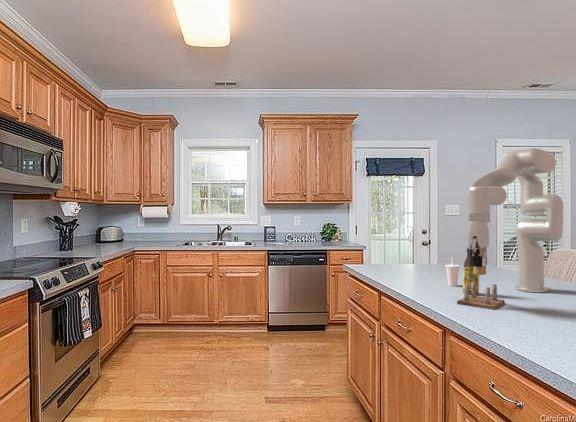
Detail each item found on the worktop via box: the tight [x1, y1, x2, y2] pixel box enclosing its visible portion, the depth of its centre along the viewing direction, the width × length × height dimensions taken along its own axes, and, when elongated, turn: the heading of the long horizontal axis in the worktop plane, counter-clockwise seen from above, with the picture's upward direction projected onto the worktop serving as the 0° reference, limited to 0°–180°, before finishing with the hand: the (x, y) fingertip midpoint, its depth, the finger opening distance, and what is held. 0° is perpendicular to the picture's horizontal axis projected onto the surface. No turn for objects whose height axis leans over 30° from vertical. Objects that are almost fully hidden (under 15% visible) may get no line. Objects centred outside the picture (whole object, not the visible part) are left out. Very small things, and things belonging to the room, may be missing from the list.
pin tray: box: [456, 282, 506, 311], centre depth 147 cm, size 13×13×7 cm
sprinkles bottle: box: [474, 243, 487, 276], centre depth 147 cm, size 5×5×14 cm
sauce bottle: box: [462, 247, 480, 296], centre depth 164 cm, size 6×6×20 cm
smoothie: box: [444, 255, 461, 287], centre depth 183 cm, size 6×6×14 cm
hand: (479, 265), depth 147 cm, fingers closed on sprinkles bottle, 4 cm apart
